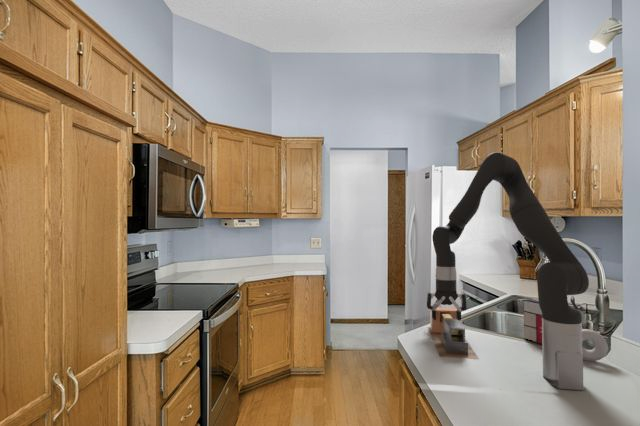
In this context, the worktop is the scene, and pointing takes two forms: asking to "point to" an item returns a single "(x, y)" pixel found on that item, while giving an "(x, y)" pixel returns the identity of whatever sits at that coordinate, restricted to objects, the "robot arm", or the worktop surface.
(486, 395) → the worktop surface
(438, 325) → the socket block
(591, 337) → the donut
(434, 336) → the base board
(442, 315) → the yellow square peg
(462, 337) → the sleeve
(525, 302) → the grey and red box
